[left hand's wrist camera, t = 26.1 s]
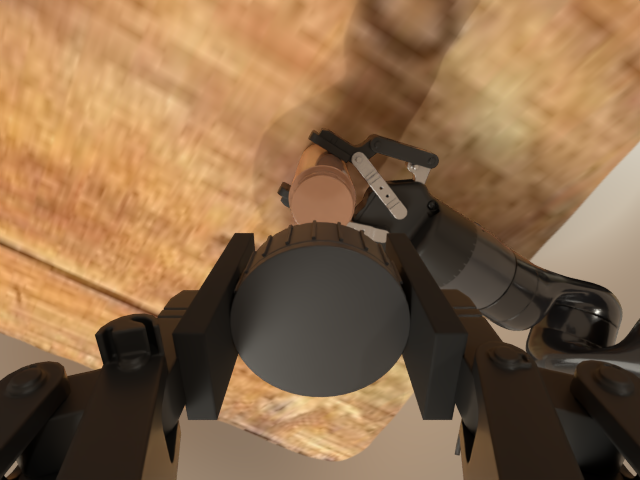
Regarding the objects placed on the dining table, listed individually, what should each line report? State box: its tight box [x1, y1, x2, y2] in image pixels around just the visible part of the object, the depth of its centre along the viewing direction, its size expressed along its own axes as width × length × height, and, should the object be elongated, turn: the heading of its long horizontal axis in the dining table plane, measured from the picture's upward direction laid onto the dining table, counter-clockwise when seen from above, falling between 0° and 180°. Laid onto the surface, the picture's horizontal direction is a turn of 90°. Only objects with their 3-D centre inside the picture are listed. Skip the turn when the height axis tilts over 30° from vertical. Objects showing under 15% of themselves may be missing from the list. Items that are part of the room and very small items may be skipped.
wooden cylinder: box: [289, 144, 356, 226], centre depth 30 cm, size 5×5×15 cm
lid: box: [230, 220, 411, 397], centre depth 11 cm, size 6×6×2 cm
